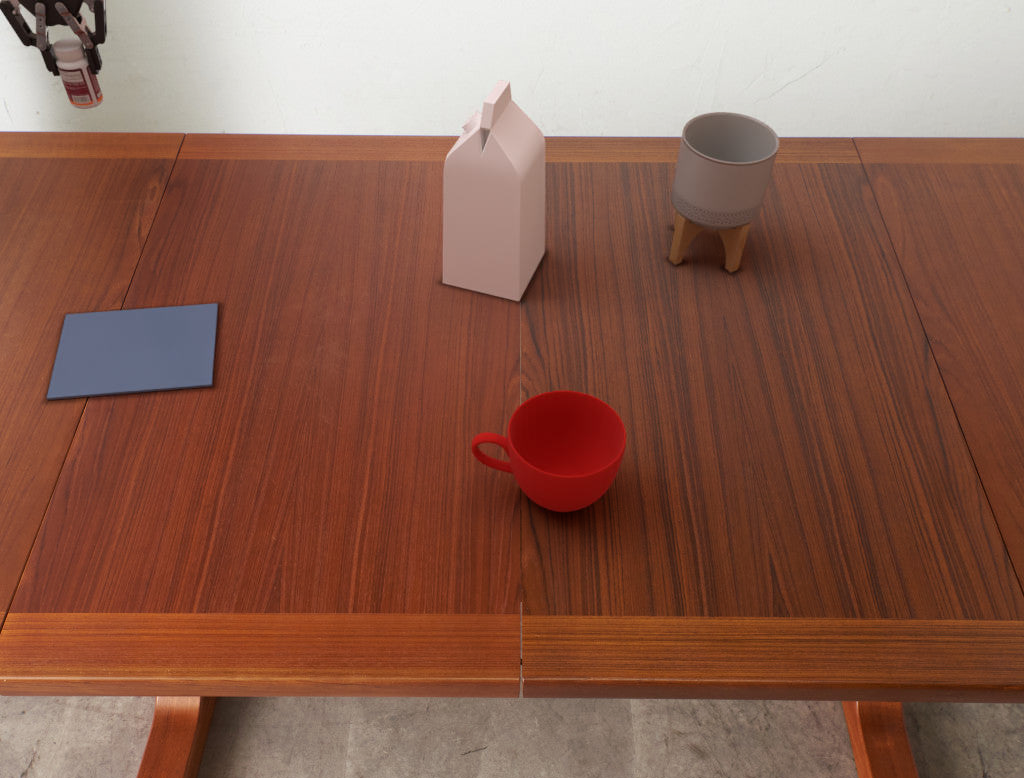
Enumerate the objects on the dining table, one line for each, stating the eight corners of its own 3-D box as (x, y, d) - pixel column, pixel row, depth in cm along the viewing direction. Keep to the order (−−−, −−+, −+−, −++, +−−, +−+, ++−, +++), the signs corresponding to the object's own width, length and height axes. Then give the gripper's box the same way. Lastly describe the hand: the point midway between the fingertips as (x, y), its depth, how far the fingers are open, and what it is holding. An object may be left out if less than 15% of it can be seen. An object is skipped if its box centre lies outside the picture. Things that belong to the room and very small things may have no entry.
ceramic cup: (475, 445, 109) (474, 385, 101) (613, 451, 109) (624, 392, 101) (468, 530, 101) (467, 473, 93) (618, 536, 101) (629, 480, 93)
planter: (766, 256, 134) (799, 145, 120) (701, 286, 129) (728, 173, 115) (707, 213, 140) (733, 102, 126) (644, 240, 136) (662, 128, 122)
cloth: (47, 400, 112) (46, 398, 111) (66, 316, 121) (65, 314, 121) (212, 386, 114) (211, 384, 114) (218, 305, 124) (217, 303, 123)
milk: (518, 301, 126) (526, 124, 105) (442, 283, 128) (435, 106, 108) (544, 252, 133) (556, 78, 113) (471, 235, 135) (470, 61, 115)
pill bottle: (89, 90, 136) (70, 33, 129) (110, 100, 134) (92, 43, 128) (63, 102, 133) (42, 44, 127) (84, 113, 132) (64, 55, 125)
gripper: (93, -71, 120) (131, 59, 133) (-20, -69, 118) (29, 62, 132) (85, -48, 116) (125, 83, 129) (-33, -46, 114) (20, 87, 127)
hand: (76, 72), depth 130 cm, fingers closed on pill bottle, 4 cm apart
